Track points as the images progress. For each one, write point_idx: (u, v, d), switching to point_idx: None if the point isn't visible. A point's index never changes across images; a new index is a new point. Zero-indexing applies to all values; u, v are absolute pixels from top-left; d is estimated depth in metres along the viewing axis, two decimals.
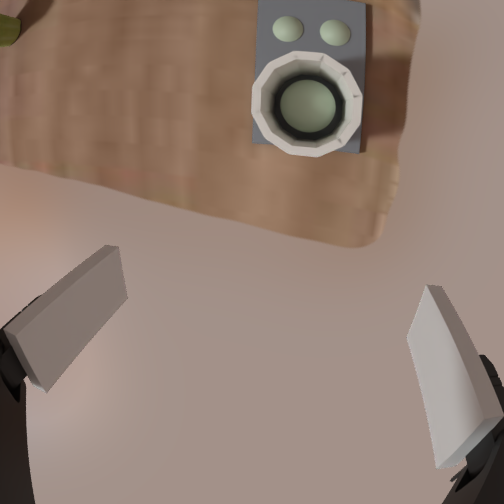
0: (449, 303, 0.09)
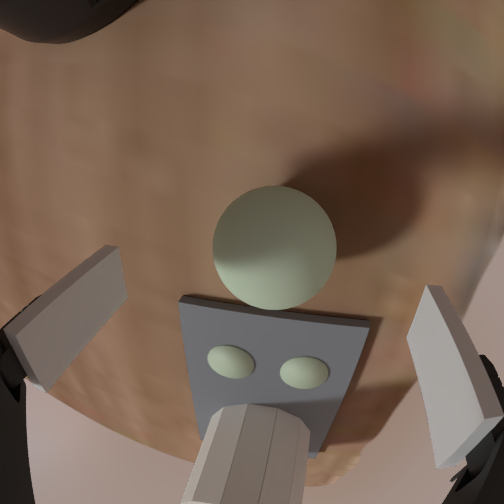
0: (449, 303, 0.09)
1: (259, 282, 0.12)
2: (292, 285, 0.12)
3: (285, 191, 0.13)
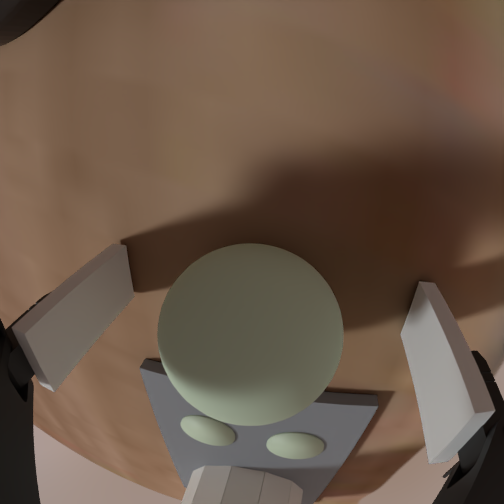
0: (442, 299, 0.10)
1: (219, 408, 0.07)
2: (270, 413, 0.07)
3: (265, 260, 0.08)
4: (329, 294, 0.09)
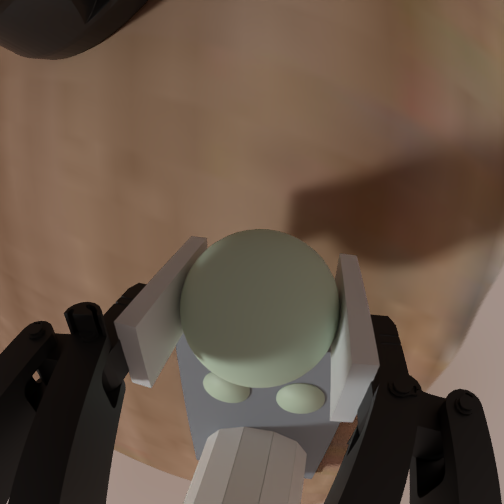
0: (357, 268, 0.12)
1: (235, 366, 0.09)
2: (279, 370, 0.09)
3: (273, 240, 0.10)
4: (327, 270, 0.10)
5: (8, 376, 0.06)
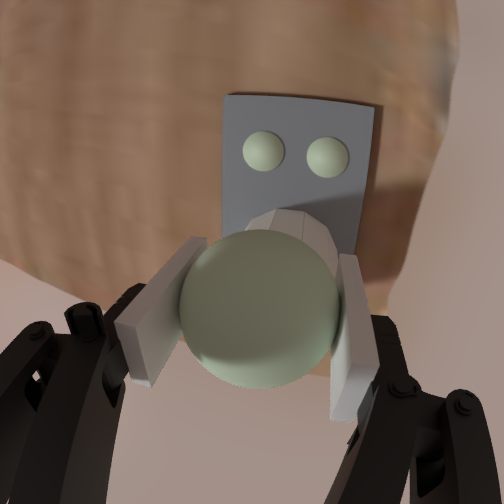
0: (357, 268, 0.12)
1: (235, 367, 0.09)
2: (279, 371, 0.09)
3: (273, 241, 0.10)
4: (327, 271, 0.10)
5: (8, 376, 0.06)
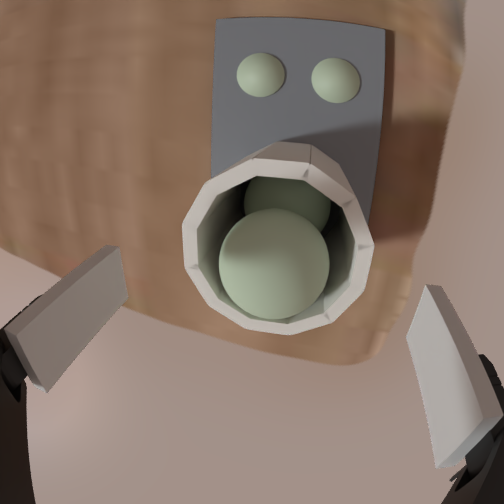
0: (448, 303, 0.09)
1: (260, 317, 0.16)
2: (286, 317, 0.16)
3: (277, 249, 0.14)
4: (317, 257, 0.15)
5: None
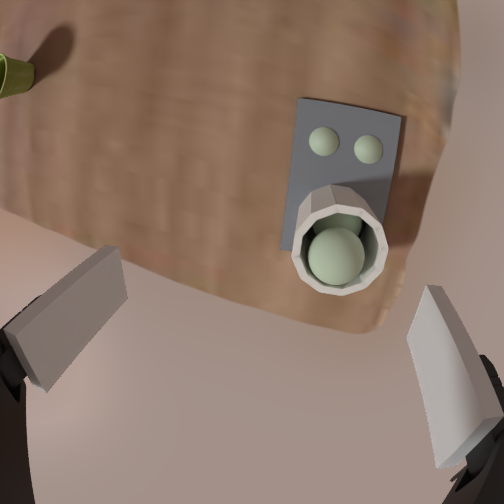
0: (449, 303, 0.09)
1: None
2: None
3: (343, 253, 0.28)
4: (360, 256, 0.29)
5: None
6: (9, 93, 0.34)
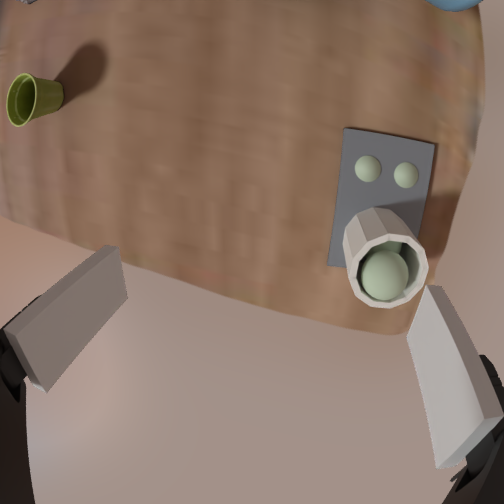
0: (449, 303, 0.09)
1: (379, 299, 0.34)
2: None
3: (394, 275, 0.31)
4: (406, 276, 0.32)
5: None
6: (39, 114, 0.38)
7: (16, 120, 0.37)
